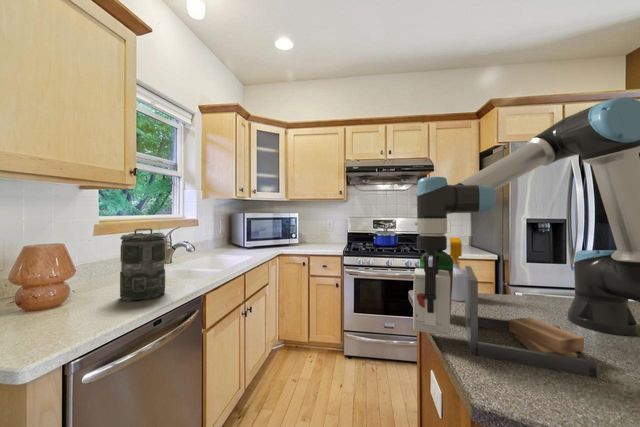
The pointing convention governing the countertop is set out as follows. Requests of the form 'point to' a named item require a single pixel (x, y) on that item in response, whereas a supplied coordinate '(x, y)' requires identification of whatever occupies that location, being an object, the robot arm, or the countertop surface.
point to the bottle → (443, 266)
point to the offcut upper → (547, 335)
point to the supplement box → (441, 303)
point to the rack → (510, 353)
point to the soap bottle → (457, 271)
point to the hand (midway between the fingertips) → (431, 318)
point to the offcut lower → (541, 347)
